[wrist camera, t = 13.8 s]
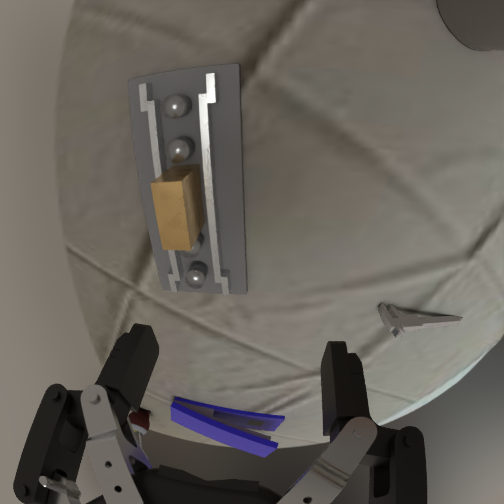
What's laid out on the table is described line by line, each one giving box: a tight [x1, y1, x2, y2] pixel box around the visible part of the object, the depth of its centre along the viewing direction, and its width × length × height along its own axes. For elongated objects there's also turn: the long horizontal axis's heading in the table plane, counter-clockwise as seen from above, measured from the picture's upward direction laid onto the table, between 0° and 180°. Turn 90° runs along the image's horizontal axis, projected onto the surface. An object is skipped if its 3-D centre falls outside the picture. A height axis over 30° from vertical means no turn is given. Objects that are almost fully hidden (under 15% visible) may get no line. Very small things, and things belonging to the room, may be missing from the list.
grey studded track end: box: [168, 196, 231, 296], centre depth 32 cm, size 13×8×3 cm, turn 1°
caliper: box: [378, 303, 463, 338], centre depth 35 cm, size 20×1×6 cm, turn 78°
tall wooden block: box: [151, 164, 205, 251], centre depth 27 cm, size 3×7×6 cm, turn 1°
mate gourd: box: [128, 407, 151, 458], centre depth 61 cm, size 8×8×15 cm
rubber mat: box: [128, 64, 247, 294], centre depth 30 cm, size 28×12×1 cm, turn 1°
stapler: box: [171, 397, 285, 457], centre depth 57 cm, size 12×28×10 cm, turn 78°
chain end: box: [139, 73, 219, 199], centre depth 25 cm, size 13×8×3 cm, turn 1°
